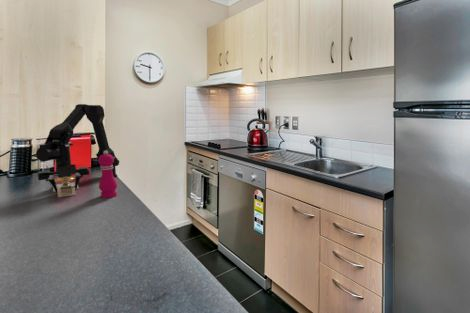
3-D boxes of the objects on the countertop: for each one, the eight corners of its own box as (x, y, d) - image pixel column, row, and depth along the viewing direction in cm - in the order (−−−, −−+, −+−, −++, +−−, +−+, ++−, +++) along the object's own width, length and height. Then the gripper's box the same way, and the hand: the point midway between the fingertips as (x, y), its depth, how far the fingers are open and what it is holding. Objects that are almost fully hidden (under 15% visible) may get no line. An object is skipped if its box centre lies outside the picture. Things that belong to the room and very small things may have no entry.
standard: (53, 186, 133) (51, 166, 131) (77, 183, 139) (75, 164, 137) (53, 192, 125) (50, 170, 123) (78, 188, 130) (76, 168, 128)
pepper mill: (96, 196, 119) (92, 151, 116) (110, 192, 126) (107, 148, 122) (107, 199, 116) (103, 152, 112) (121, 194, 122) (118, 150, 119)
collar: (57, 193, 124) (57, 186, 123) (74, 191, 127) (74, 184, 127) (58, 197, 118) (57, 190, 118) (75, 194, 122) (75, 188, 121)
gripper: (35, 162, 108) (40, 200, 111) (88, 158, 118) (92, 193, 121) (36, 158, 117) (41, 193, 120) (86, 154, 127) (89, 187, 130)
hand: (66, 191), depth 122 cm, fingers closed on collar, 7 cm apart
